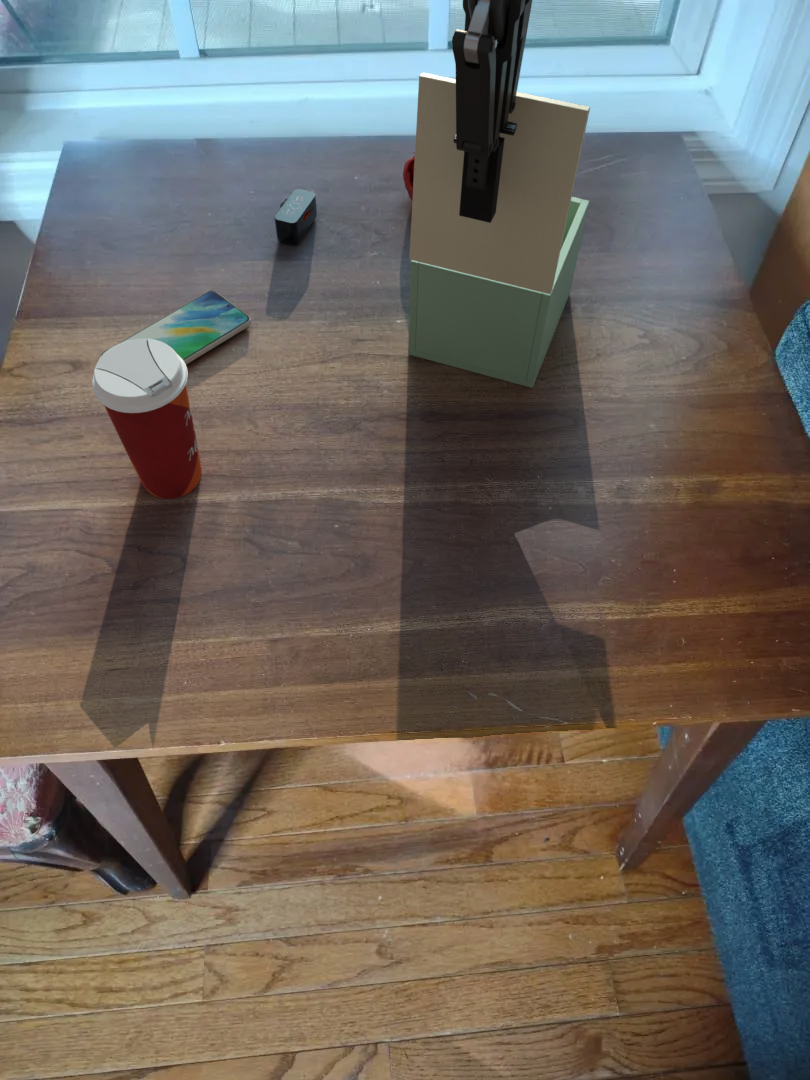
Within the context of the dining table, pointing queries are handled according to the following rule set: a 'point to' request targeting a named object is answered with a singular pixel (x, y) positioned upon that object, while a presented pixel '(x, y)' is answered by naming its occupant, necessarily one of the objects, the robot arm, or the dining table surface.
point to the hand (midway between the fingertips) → (477, 213)
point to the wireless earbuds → (295, 216)
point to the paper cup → (151, 413)
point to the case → (491, 314)
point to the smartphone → (196, 326)
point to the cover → (523, 196)
